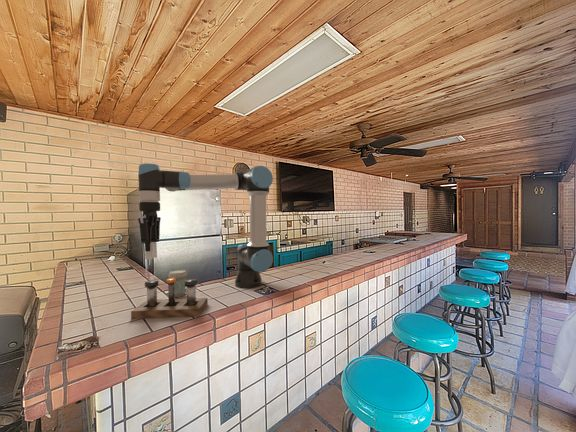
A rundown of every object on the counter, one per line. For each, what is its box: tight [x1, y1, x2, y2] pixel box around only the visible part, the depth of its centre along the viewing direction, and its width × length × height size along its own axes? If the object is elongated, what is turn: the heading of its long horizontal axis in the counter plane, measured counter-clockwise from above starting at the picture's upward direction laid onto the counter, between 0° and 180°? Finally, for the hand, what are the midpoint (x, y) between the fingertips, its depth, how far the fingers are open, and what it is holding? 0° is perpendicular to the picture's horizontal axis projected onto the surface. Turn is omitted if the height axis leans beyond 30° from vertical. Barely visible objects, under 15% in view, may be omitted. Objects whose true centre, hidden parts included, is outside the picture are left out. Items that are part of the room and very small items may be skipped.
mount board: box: [130, 297, 209, 320], centre depth 99 cm, size 26×12×3 cm, turn 93°
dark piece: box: [166, 278, 176, 305], centre depth 99 cm, size 3×3×10 cm
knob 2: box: [184, 278, 198, 305], centre depth 99 cm, size 5×5×10 cm
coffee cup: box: [168, 269, 188, 298], centre depth 118 cm, size 8×8×12 cm
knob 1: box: [144, 279, 160, 306], centre depth 99 cm, size 5×5×10 cm
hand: (151, 258), depth 98 cm, fingers open, 3 cm apart
